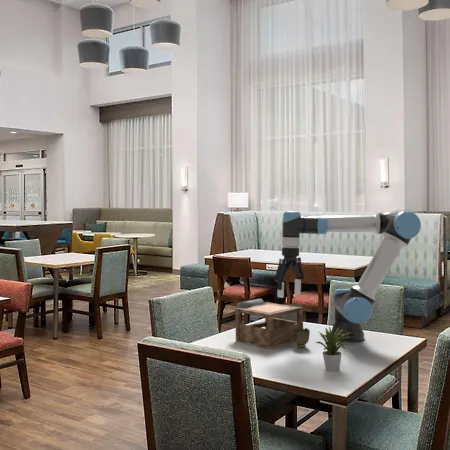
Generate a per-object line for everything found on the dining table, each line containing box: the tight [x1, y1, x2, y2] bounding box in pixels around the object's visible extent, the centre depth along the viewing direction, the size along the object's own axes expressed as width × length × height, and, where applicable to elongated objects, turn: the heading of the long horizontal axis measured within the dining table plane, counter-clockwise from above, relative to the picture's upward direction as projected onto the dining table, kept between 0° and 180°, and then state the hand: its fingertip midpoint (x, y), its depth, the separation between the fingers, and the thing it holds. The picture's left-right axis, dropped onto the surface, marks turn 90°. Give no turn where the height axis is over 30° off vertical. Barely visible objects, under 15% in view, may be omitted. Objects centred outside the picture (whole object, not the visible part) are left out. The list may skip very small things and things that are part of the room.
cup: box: [293, 327, 311, 349], centre depth 243 cm, size 8×7×8 cm
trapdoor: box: [235, 298, 290, 314], centre depth 260 cm, size 22×15×5 cm
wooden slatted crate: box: [234, 301, 304, 350], centre depth 257 cm, size 22×22×15 cm
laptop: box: [273, 303, 303, 322], centre depth 285 cm, size 18×12×13 cm
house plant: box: [315, 326, 352, 372], centre depth 209 cm, size 14×14×16 cm
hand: (289, 295), depth 243 cm, fingers open, 13 cm apart
